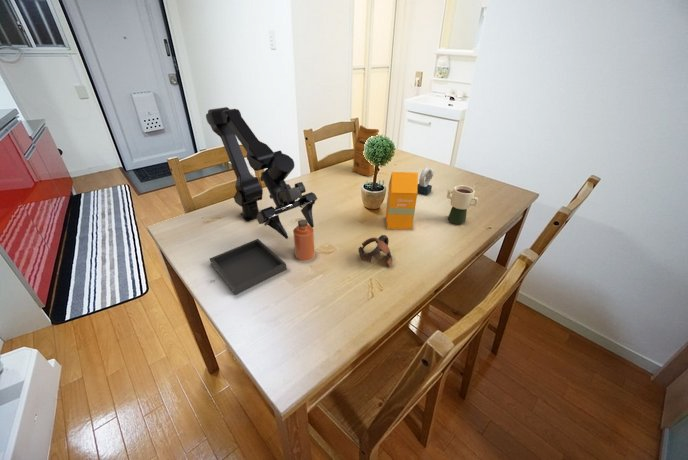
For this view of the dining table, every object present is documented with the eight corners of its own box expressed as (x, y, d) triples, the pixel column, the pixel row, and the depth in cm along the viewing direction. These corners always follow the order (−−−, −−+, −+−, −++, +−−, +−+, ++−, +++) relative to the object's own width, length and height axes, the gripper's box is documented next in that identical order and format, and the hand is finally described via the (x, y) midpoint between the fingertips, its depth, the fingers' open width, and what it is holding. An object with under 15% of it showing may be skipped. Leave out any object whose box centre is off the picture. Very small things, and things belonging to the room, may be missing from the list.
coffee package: (363, 165, 159) (365, 122, 147) (381, 172, 151) (384, 127, 139) (349, 170, 153) (350, 126, 141) (367, 178, 145) (370, 131, 133)
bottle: (292, 259, 93) (288, 224, 86) (301, 248, 97) (298, 215, 90) (309, 263, 91) (307, 229, 84) (318, 252, 96) (316, 218, 89)
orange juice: (385, 217, 114) (390, 167, 103) (408, 218, 114) (416, 168, 103) (387, 229, 108) (392, 176, 97) (411, 229, 107) (420, 177, 96)
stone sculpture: (432, 190, 135) (437, 167, 129) (425, 197, 129) (429, 172, 123) (421, 187, 137) (424, 164, 131) (413, 193, 132) (416, 169, 126)
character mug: (474, 222, 112) (483, 190, 105) (467, 230, 108) (476, 197, 101) (445, 212, 118) (452, 182, 111) (438, 220, 113) (445, 188, 106)
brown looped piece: (389, 275, 88) (377, 256, 84) (363, 275, 94) (350, 257, 90) (401, 245, 95) (390, 226, 91) (376, 247, 101) (365, 229, 97)
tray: (211, 265, 90) (209, 258, 88) (259, 245, 98) (257, 238, 97) (236, 296, 79) (234, 288, 78) (286, 271, 88) (286, 263, 86)
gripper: (255, 184, 80) (282, 236, 79) (312, 167, 90) (336, 213, 89) (246, 200, 89) (270, 247, 88) (299, 183, 99) (320, 225, 99)
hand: (300, 232), depth 91 cm, fingers open, 9 cm apart
